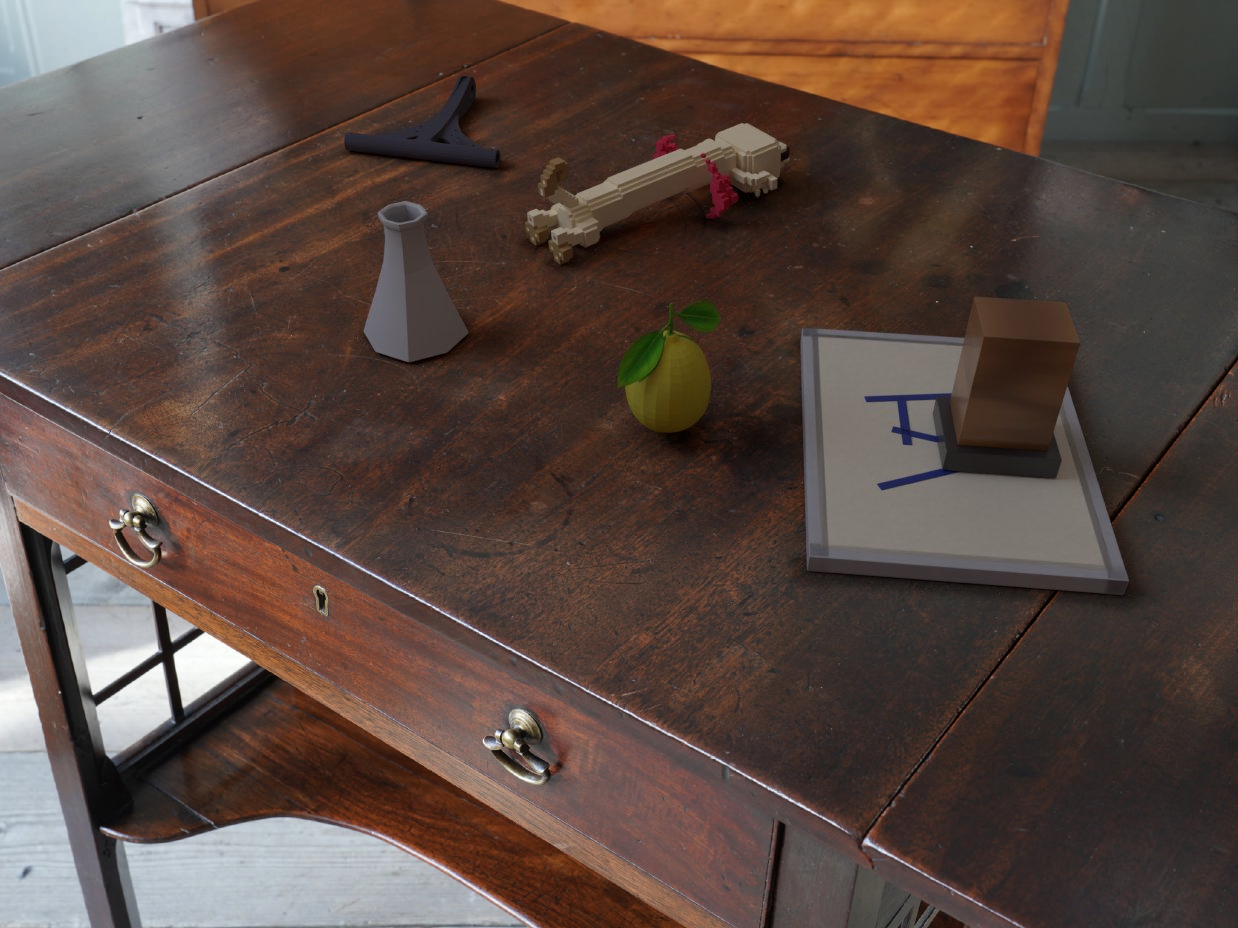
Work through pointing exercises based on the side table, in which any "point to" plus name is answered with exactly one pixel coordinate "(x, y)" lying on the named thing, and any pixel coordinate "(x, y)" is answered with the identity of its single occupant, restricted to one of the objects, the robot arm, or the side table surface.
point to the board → (935, 479)
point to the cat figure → (656, 185)
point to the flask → (410, 293)
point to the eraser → (1008, 389)
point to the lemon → (669, 372)
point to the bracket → (433, 135)
